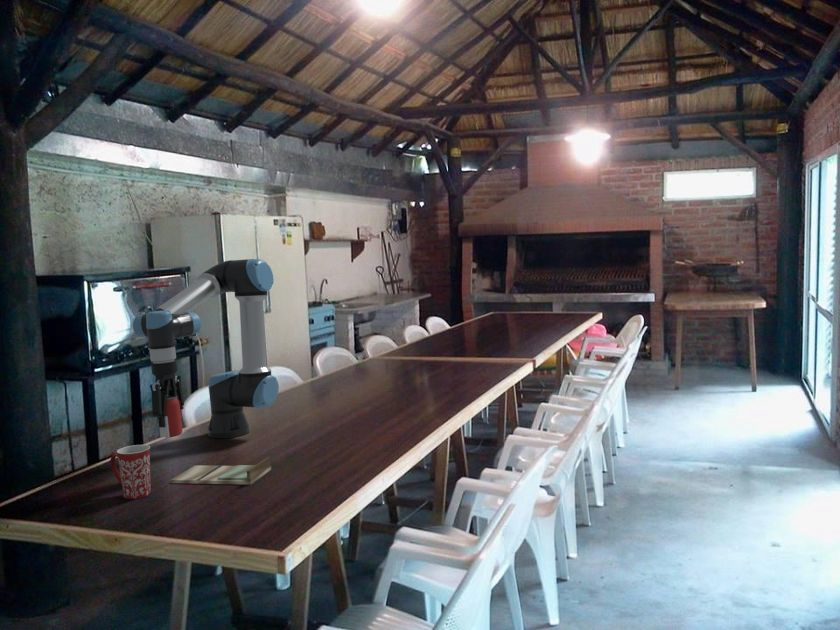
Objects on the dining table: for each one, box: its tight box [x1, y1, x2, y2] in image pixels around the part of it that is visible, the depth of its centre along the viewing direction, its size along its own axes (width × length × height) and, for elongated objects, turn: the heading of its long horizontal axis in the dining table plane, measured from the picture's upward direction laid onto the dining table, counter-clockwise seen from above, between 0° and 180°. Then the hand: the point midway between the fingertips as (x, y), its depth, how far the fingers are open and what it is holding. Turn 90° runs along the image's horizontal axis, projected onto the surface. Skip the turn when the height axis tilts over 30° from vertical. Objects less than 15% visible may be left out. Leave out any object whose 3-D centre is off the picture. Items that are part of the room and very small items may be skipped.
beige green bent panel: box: [170, 456, 272, 486], centre depth 222 cm, size 26×14×4 cm, turn 77°
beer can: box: [165, 395, 183, 438], centre depth 227 cm, size 7×7×12 cm
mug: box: [109, 444, 152, 500], centre depth 209 cm, size 13×9×14 cm
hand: (171, 433), depth 228 cm, fingers closed on beer can, 7 cm apart
